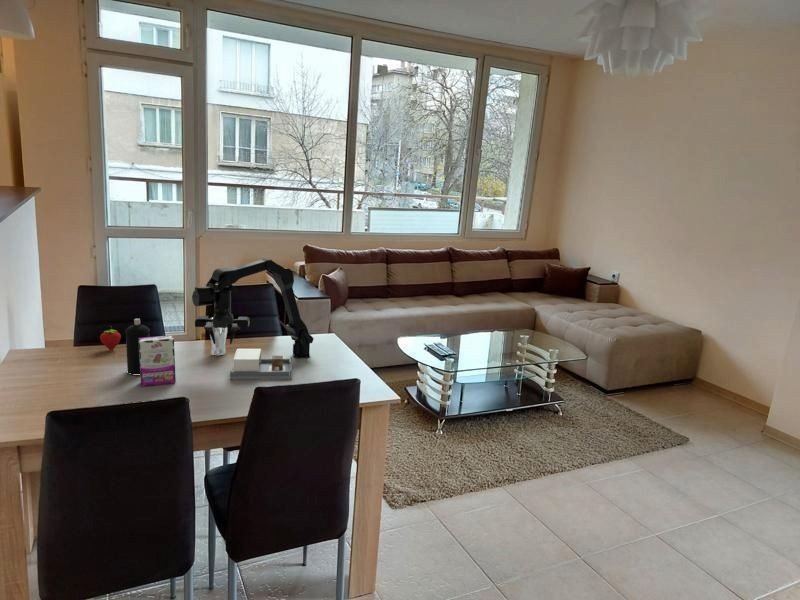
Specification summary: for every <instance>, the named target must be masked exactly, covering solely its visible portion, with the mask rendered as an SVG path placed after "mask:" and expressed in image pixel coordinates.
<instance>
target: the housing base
mask: <svg viewBox="0 0 800 600" xmlns="http://www.w3.org/2000/svg"><path fill="white" fill-rule="evenodd" d="M292 368H293V356H291V357H290V358H283V370H279V367H275V370H272V358H261V363H259V371H233V368H232V370H231V371H229V380H230V379H242V380H244V379H256V380H292V378H293V377H292V376H293V375H292V374H293V373H292V371H293V369H292Z"/></svg>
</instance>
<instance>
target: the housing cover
mask: <svg viewBox="0 0 800 600" xmlns="http://www.w3.org/2000/svg"><path fill="white" fill-rule="evenodd" d="M261 359H262V348H237V349H236V351H235V353H234V357H233V361H232V362H233V363H232V364H233V366H232V369H233V371H259V363H261Z"/></svg>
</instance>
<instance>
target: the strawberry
mask: <svg viewBox="0 0 800 600" xmlns="http://www.w3.org/2000/svg"><path fill="white" fill-rule="evenodd" d="M110 327H111V329H109V330H104V331H103V333H101V334H100V336H99V339H100V342H101V343H102V345H103V346H104V347H106V348H107V349H108V350H109V349H110V350H109V351H113V350H114V349H115V348H116V347H117V346H118V345H119V343H120V342H121V339H122V336H121V333H119V331H117V330H116V329H113V328H112V326H110ZM112 349H113V350H112Z"/></svg>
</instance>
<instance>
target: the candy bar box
mask: <svg viewBox="0 0 800 600" xmlns="http://www.w3.org/2000/svg"><path fill="white" fill-rule="evenodd" d="M139 357H140V375H139V376H140V386H141V387H142V386H144V387H151V385H153V386H160V385H169V384H175V383H176V382H177V381H176V362H175V359H176V358H175V339H174V335H172V334H171V335H160V336H159V335H158V336H150V337H146V338H139Z"/></svg>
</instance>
